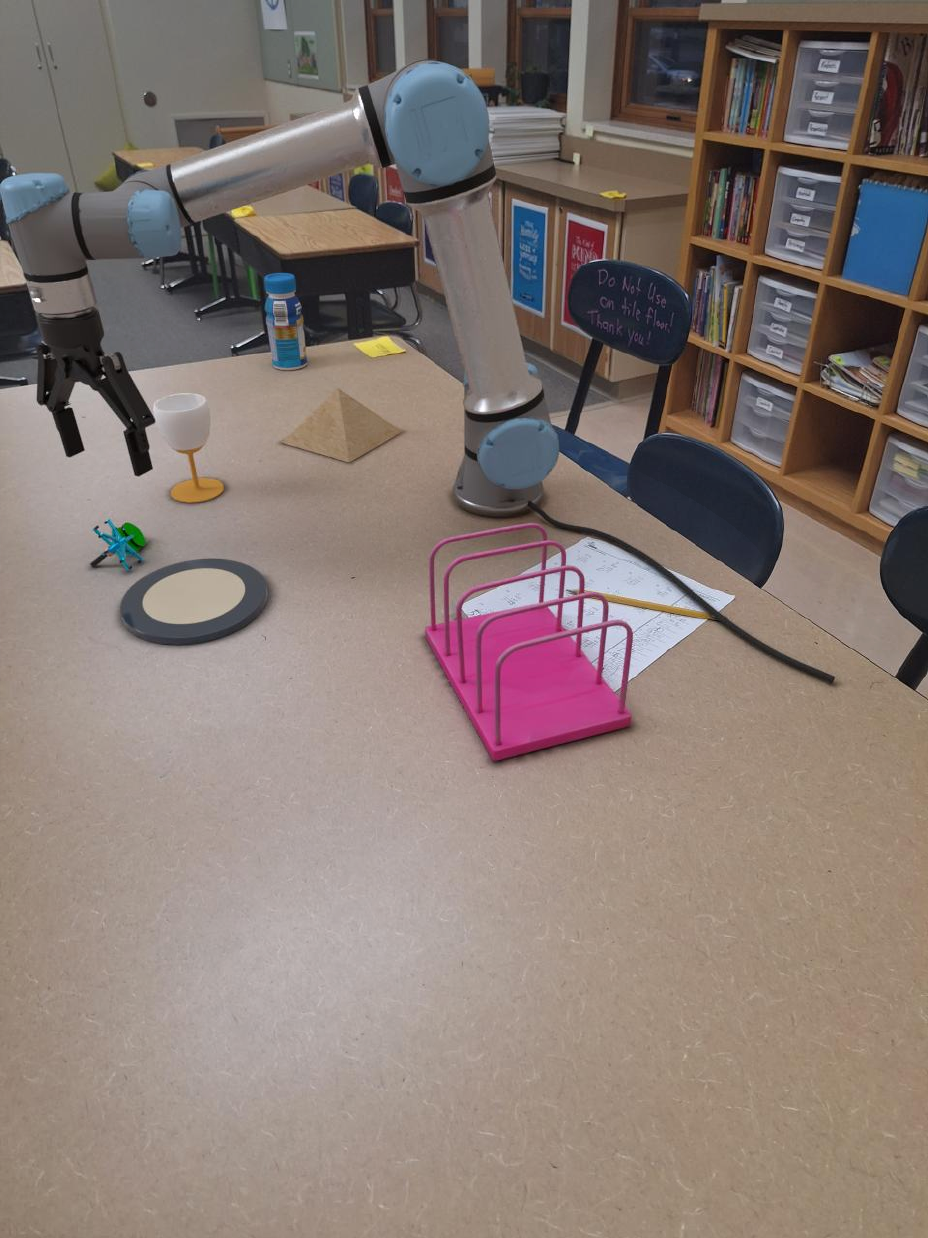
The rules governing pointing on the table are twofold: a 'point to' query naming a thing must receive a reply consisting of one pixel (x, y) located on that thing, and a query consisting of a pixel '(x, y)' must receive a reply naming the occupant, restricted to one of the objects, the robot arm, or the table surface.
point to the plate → (194, 601)
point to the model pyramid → (341, 429)
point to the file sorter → (526, 662)
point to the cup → (187, 440)
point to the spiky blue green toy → (121, 543)
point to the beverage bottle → (284, 322)
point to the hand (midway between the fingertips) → (109, 462)
